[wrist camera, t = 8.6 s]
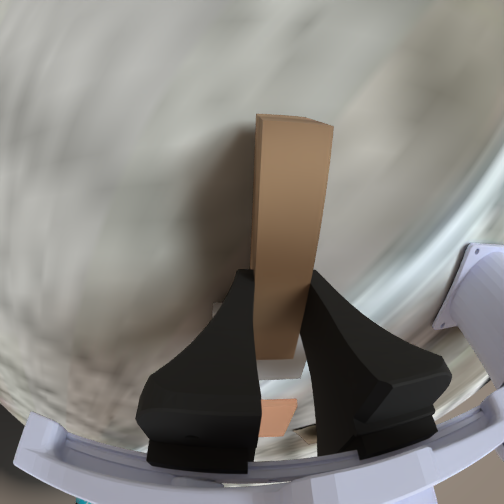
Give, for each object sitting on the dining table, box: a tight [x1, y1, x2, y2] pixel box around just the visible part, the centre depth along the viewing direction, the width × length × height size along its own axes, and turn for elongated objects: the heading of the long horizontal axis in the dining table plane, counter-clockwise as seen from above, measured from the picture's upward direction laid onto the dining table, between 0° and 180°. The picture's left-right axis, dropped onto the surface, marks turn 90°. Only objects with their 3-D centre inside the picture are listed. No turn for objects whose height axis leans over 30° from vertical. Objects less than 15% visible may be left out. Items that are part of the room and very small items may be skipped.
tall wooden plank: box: [212, 114, 334, 380], centre depth 13 cm, size 17×6×4 cm, turn 178°
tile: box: [259, 399, 297, 437], centre depth 24 cm, size 7×1×8 cm
